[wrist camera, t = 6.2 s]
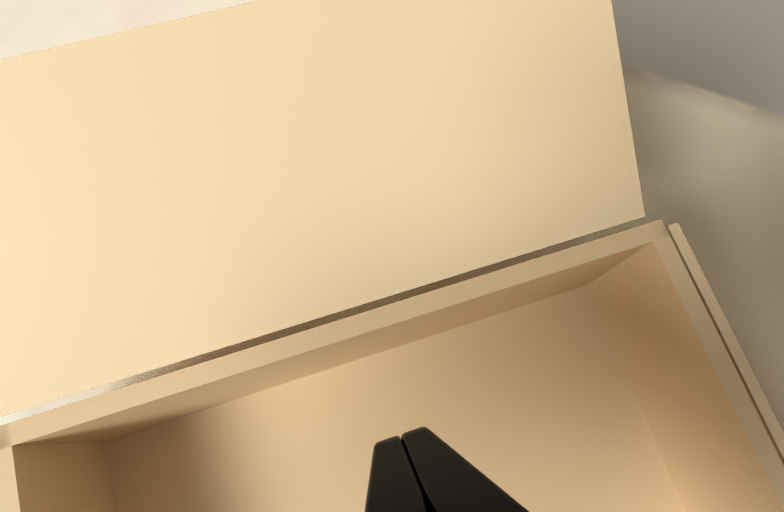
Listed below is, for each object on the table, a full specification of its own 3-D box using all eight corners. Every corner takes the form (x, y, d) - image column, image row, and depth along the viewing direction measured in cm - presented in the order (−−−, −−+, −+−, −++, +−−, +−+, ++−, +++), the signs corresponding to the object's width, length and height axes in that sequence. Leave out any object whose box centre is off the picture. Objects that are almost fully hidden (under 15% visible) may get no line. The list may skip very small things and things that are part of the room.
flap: (645, 216, 14) (598, -78, 13) (1, 416, 12) (-149, 94, 11) (638, 214, 15) (591, -73, 13) (8, 410, 13) (-137, 95, 11)
